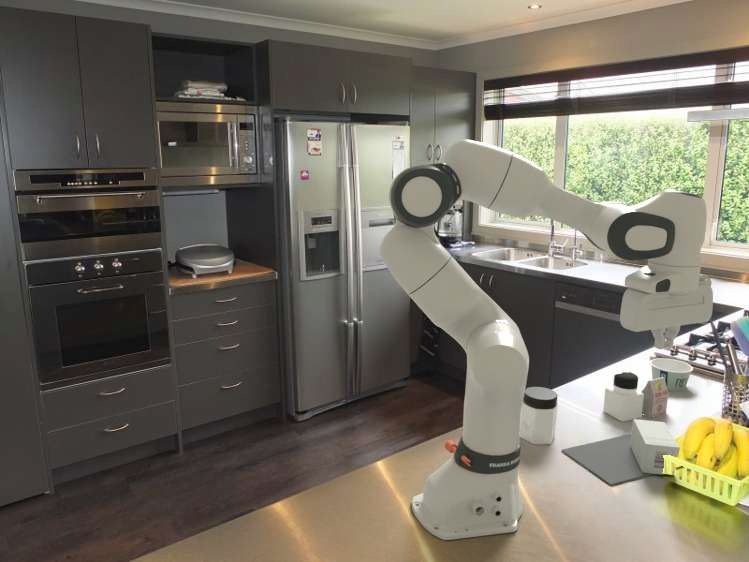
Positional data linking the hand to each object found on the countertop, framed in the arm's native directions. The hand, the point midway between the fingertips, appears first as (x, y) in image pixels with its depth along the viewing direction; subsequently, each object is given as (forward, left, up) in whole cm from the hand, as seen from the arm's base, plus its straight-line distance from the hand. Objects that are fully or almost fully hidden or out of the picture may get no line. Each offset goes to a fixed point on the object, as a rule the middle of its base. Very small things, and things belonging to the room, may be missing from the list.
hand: (663, 347), depth 112 cm
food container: (+58, +45, -34) cm, 81 cm away
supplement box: (+12, +7, -30) cm, 33 cm away
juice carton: (+37, +32, -34) cm, 60 cm away
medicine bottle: (+28, +34, -34) cm, 56 cm away
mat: (+10, +16, -34) cm, 39 cm away
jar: (-2, +32, -34) cm, 47 cm away
